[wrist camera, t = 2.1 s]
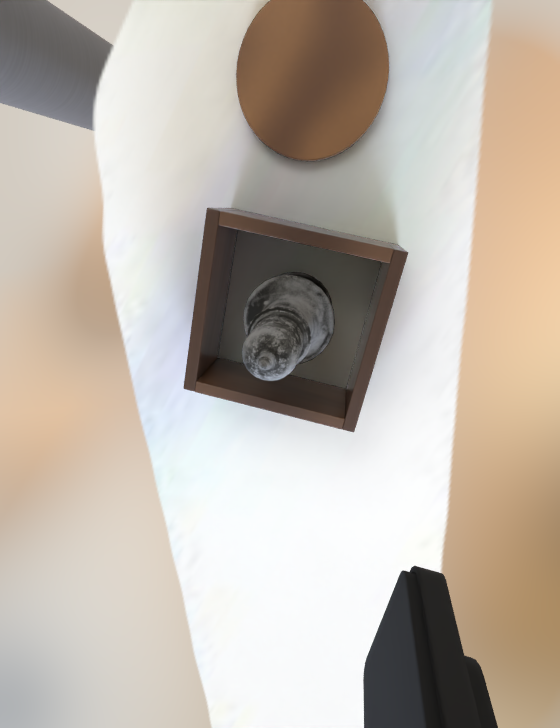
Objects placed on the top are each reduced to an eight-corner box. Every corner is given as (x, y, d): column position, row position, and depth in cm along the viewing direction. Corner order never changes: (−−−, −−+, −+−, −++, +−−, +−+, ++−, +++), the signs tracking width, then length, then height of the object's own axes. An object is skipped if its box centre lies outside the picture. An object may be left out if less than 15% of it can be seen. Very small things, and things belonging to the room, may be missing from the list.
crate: (206, 364, 33) (183, 389, 29) (229, 207, 29) (206, 207, 25) (353, 400, 33) (354, 432, 28) (399, 244, 28) (408, 252, 24)
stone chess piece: (345, 337, 31) (341, 410, 20) (268, 356, 32) (225, 434, 21) (324, 257, 29) (307, 287, 18) (244, 280, 31) (182, 321, 20)
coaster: (228, 145, 28) (225, 144, 27) (252, -27, 25) (249, -32, 24) (364, 174, 27) (365, 173, 27) (408, 1, 24) (409, -4, 24)
